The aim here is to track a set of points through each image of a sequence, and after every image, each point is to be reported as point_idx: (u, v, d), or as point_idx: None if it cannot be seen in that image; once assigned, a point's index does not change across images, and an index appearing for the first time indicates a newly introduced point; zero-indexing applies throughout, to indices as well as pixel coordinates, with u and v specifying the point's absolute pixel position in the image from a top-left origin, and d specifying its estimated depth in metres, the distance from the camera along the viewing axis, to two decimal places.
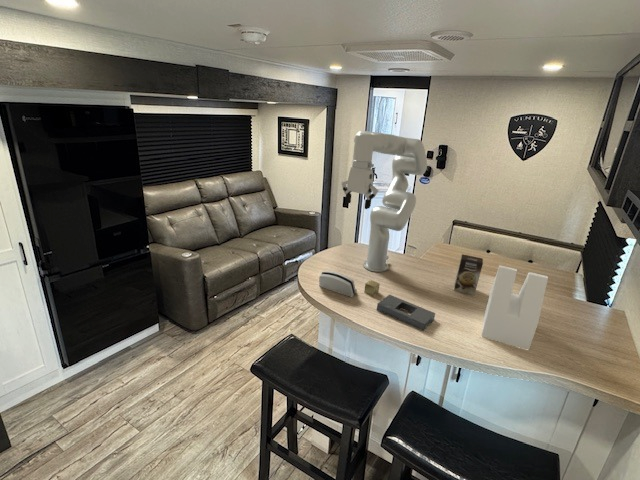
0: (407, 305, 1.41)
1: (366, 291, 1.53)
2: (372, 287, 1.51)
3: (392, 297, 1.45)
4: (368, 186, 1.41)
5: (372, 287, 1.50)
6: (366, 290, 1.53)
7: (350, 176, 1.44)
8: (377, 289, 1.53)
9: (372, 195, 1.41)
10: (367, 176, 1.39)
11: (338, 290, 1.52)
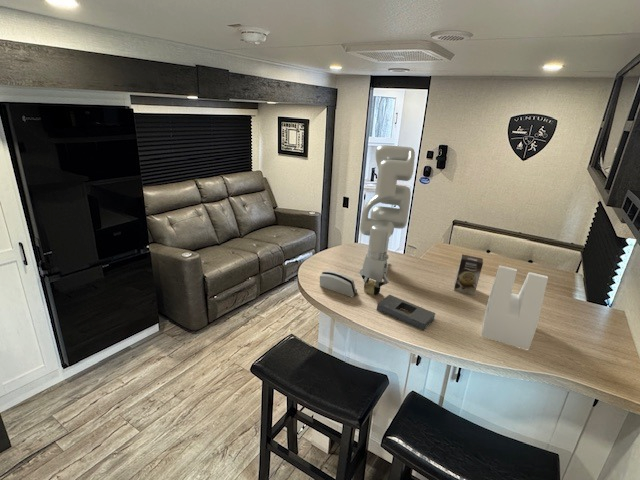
0: (407, 305, 1.41)
1: (366, 291, 1.53)
2: (372, 287, 1.50)
3: (392, 297, 1.45)
4: (383, 275, 1.47)
5: (372, 287, 1.50)
6: (366, 290, 1.53)
7: (365, 263, 1.50)
8: None
9: (381, 284, 1.49)
10: (382, 266, 1.45)
11: (338, 290, 1.52)
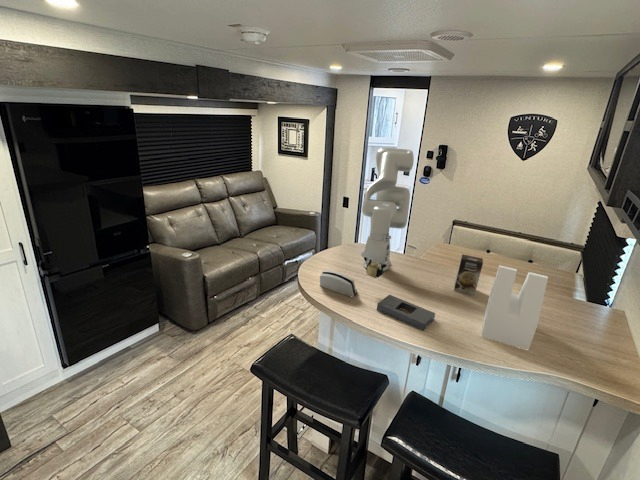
0: (407, 305, 1.41)
1: (368, 273, 1.51)
2: (374, 269, 1.48)
3: (392, 297, 1.45)
4: (385, 256, 1.44)
5: (375, 269, 1.48)
6: (368, 272, 1.51)
7: (367, 245, 1.47)
8: None
9: (384, 265, 1.46)
10: (384, 247, 1.43)
11: (338, 290, 1.52)
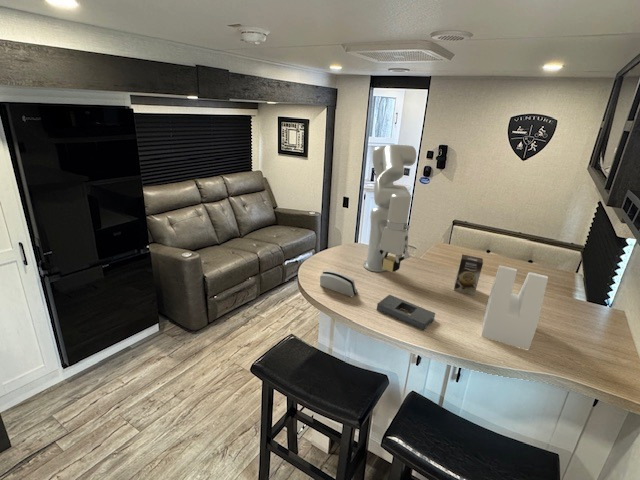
0: (407, 305, 1.41)
1: (384, 267, 1.41)
2: (391, 262, 1.38)
3: (392, 297, 1.45)
4: (403, 248, 1.34)
5: (391, 262, 1.38)
6: (384, 266, 1.40)
7: (384, 236, 1.37)
8: None
9: (402, 258, 1.36)
10: (403, 238, 1.33)
11: (338, 290, 1.52)
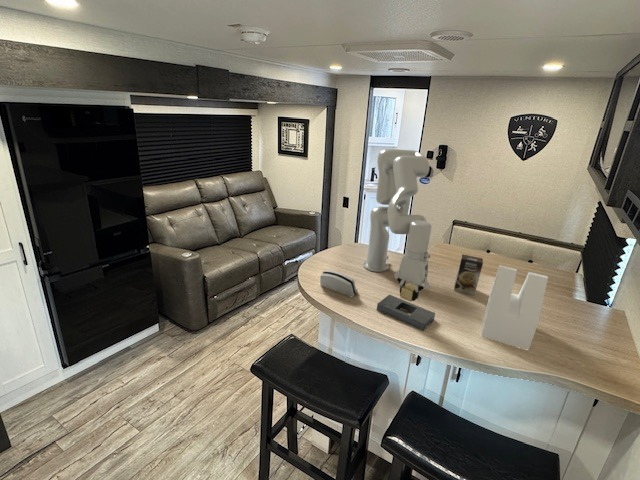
0: (407, 305, 1.41)
1: (402, 296, 1.35)
2: (410, 292, 1.32)
3: (392, 297, 1.45)
4: (423, 277, 1.28)
5: (410, 292, 1.32)
6: (403, 295, 1.35)
7: (402, 265, 1.32)
8: None
9: (421, 288, 1.30)
10: (423, 268, 1.27)
11: (339, 290, 1.52)
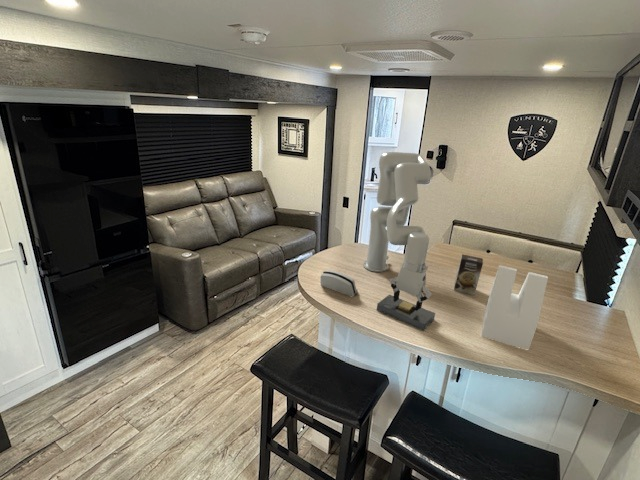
0: None
1: None
2: (407, 310, 1.35)
3: (392, 297, 1.45)
4: (421, 288, 1.30)
5: (407, 310, 1.35)
6: None
7: (400, 275, 1.33)
8: (411, 311, 1.38)
9: (424, 298, 1.31)
10: (420, 279, 1.29)
11: (339, 290, 1.52)
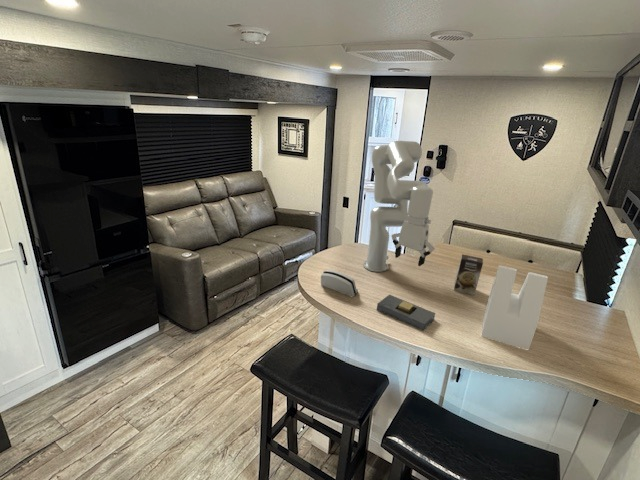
0: None
1: None
2: (407, 310, 1.35)
3: (392, 297, 1.45)
4: (424, 243, 1.29)
5: (407, 310, 1.35)
6: None
7: (403, 231, 1.32)
8: (411, 311, 1.38)
9: (428, 253, 1.30)
10: (423, 233, 1.28)
11: (339, 290, 1.52)
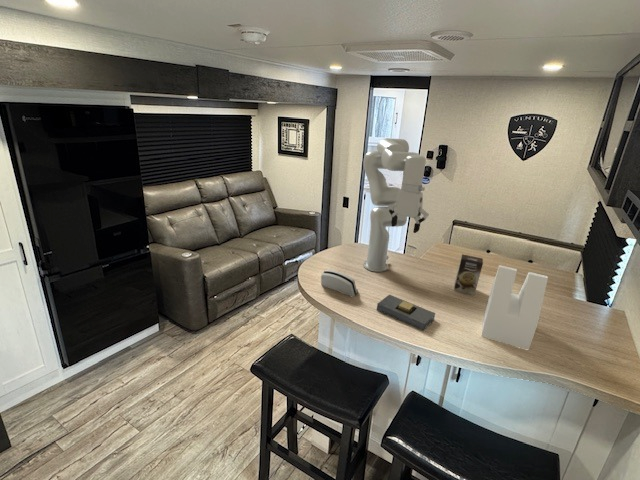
0: None
1: None
2: (407, 310, 1.35)
3: (392, 297, 1.45)
4: (418, 210, 1.36)
5: (407, 310, 1.35)
6: None
7: (398, 199, 1.39)
8: (411, 311, 1.38)
9: (422, 219, 1.36)
10: (418, 200, 1.35)
11: (339, 290, 1.52)
